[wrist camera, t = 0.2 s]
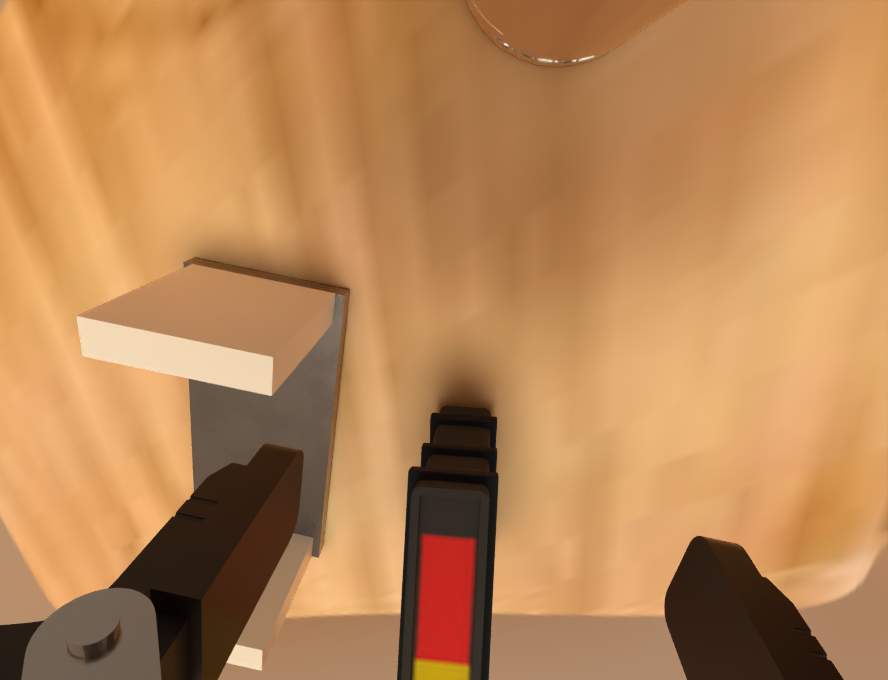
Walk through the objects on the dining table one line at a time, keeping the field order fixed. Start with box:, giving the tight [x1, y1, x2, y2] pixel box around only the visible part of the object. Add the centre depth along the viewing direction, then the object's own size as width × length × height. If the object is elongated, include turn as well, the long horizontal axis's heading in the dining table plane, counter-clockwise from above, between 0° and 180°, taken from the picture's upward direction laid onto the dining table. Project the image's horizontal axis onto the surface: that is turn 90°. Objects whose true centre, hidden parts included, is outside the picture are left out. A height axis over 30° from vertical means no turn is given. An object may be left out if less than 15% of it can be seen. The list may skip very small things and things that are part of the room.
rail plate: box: [184, 258, 350, 558], centre depth 31 cm, size 20×9×1 cm, turn 170°
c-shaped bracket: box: [77, 264, 335, 671], centre depth 27 cm, size 20×8×8 cm, turn 170°
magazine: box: [397, 406, 498, 680], centre depth 26 cm, size 4×13×15 cm, turn 0°
